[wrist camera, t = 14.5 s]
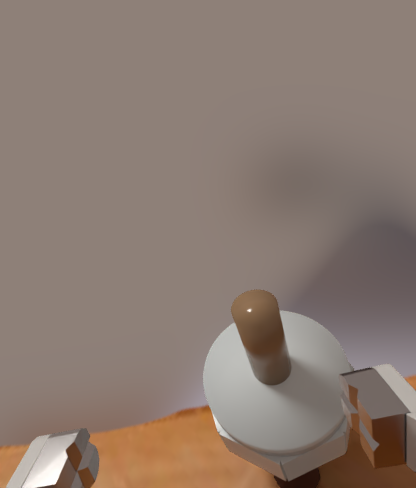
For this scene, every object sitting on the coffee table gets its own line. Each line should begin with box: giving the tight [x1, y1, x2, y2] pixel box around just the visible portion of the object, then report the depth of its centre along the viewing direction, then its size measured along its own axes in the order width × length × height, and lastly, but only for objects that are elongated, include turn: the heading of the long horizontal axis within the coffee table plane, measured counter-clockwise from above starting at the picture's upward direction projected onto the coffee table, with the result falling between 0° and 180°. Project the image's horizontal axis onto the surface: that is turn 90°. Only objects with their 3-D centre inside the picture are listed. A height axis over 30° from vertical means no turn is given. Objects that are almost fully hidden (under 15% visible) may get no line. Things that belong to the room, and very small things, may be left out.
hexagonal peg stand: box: [203, 290, 354, 481], centre depth 28 cm, size 15×15×14 cm
